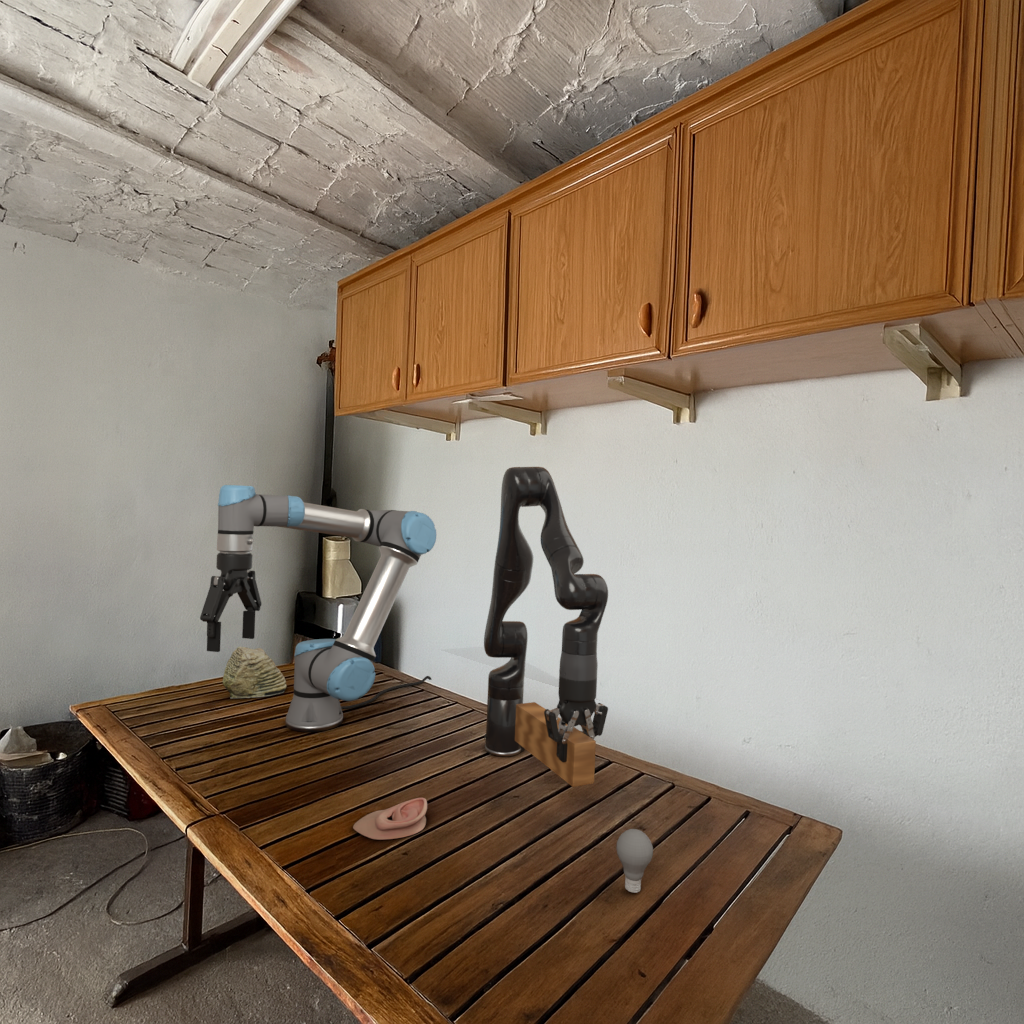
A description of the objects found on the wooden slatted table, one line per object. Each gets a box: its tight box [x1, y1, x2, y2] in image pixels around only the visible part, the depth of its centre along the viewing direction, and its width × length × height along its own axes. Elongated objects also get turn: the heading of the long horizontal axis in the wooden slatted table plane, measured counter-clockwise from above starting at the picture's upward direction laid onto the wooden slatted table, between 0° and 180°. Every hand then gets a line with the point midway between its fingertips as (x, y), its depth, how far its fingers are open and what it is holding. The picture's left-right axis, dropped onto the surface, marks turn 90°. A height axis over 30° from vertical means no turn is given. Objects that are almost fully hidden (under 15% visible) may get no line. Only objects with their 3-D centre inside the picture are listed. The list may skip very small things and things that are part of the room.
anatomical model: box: [352, 797, 428, 841], centre depth 123 cm, size 13×4×12 cm
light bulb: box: [615, 828, 654, 894], centre depth 106 cm, size 6×6×10 cm
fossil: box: [222, 646, 288, 699], centre depth 198 cm, size 9×18×15 cm, turn 132°
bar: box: [515, 701, 597, 788], centre depth 134 cm, size 25×5×8 cm, turn 26°
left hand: (231, 644), depth 146 cm, fingers open, 13 cm apart
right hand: (574, 758), depth 126 cm, fingers closed on bar, 5 cm apart
